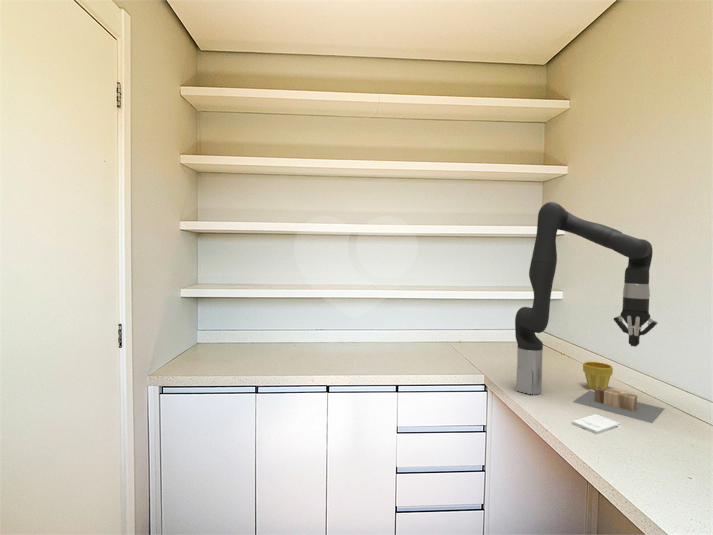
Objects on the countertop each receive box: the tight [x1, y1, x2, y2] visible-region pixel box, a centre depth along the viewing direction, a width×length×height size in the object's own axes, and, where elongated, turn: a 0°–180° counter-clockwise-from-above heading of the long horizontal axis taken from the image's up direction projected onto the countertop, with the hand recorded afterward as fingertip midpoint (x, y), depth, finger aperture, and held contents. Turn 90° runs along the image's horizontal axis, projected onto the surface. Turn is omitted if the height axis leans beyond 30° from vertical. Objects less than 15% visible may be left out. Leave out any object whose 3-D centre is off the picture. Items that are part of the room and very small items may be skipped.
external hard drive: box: [571, 413, 621, 435], centre depth 128 cm, size 2×8×12 cm
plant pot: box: [582, 361, 614, 390], centre depth 162 cm, size 10×10×10 cm
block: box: [594, 387, 638, 411], centre depth 143 cm, size 4×4×12 cm
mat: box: [572, 390, 665, 424], centre depth 143 cm, size 18×24×1 cm
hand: (633, 345), depth 138 cm, fingers closed
